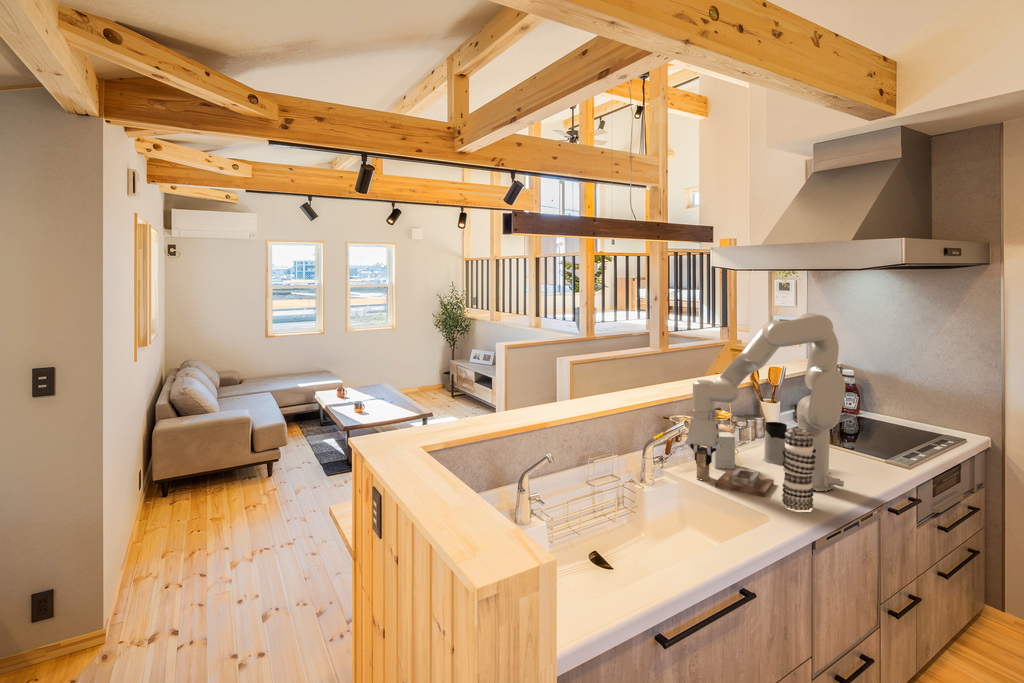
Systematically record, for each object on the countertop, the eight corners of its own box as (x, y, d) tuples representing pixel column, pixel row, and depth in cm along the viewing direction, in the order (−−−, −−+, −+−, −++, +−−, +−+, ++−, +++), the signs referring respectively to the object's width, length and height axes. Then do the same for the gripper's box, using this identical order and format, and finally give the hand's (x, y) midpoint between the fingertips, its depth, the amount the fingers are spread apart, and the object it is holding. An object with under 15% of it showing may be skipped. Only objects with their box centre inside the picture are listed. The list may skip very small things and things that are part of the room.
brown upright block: (709, 477, 187) (709, 448, 186) (705, 481, 183) (705, 451, 182) (701, 475, 189) (701, 446, 188) (696, 479, 185) (696, 450, 184)
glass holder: (762, 456, 208) (762, 420, 207) (801, 459, 203) (802, 423, 202) (764, 463, 200) (765, 426, 199) (805, 466, 195) (806, 428, 194)
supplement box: (735, 469, 194) (735, 437, 193) (714, 468, 196) (715, 436, 195) (730, 462, 201) (731, 431, 200) (711, 462, 203) (711, 431, 202)
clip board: (773, 484, 178) (773, 473, 178) (764, 497, 167) (764, 485, 167) (726, 475, 188) (726, 464, 188) (714, 486, 177) (715, 475, 177)
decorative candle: (792, 499, 165) (794, 424, 163) (820, 509, 157) (823, 430, 155) (774, 505, 161) (776, 428, 159) (802, 516, 153) (805, 435, 150)
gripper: (730, 415, 181) (729, 464, 183) (684, 409, 192) (684, 456, 193) (723, 419, 176) (723, 470, 177) (677, 413, 186) (677, 462, 187)
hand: (703, 463), depth 185 cm, fingers closed on brown upright block, 3 cm apart
